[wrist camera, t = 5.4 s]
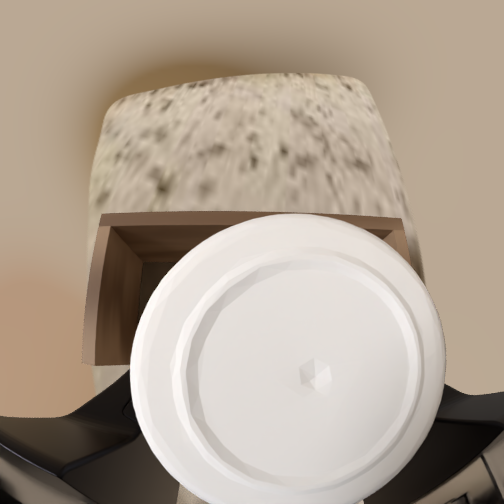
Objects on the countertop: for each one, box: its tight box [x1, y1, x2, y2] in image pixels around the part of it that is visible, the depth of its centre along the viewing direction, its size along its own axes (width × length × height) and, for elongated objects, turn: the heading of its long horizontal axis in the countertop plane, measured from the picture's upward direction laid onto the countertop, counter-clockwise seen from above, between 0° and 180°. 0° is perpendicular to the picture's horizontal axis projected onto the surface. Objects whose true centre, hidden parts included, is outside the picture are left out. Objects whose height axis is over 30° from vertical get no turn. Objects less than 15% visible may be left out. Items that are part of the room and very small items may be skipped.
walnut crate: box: [82, 211, 412, 366], centre depth 15 cm, size 8×18×6 cm, turn 90°
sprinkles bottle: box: [130, 214, 446, 504], centre depth 9 cm, size 5×5×13 cm
